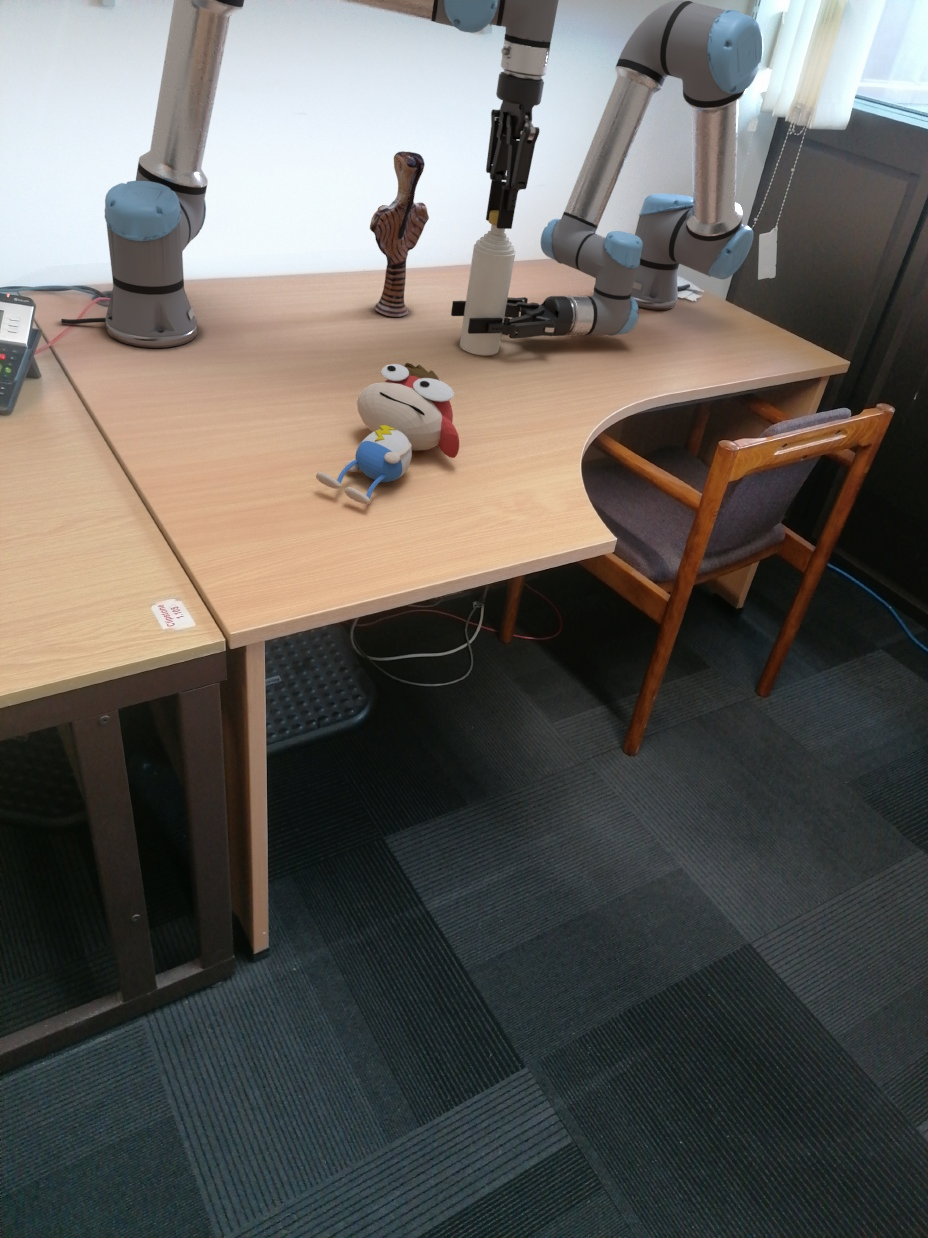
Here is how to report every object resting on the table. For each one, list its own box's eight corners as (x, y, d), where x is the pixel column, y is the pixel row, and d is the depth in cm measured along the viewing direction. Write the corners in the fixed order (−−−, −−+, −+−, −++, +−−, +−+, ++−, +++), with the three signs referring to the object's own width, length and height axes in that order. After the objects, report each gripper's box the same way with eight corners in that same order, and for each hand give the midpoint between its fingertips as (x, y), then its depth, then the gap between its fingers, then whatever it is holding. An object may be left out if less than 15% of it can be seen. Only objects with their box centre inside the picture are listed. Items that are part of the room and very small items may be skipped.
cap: (508, 227, 158) (510, 217, 157) (487, 224, 158) (489, 213, 157) (509, 222, 161) (511, 212, 160) (489, 218, 161) (490, 208, 160)
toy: (278, 428, 121) (396, 343, 140) (277, 485, 128) (389, 398, 148) (391, 486, 117) (497, 391, 136) (384, 542, 124) (485, 444, 143)
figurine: (401, 297, 189) (416, 141, 170) (429, 309, 186) (448, 152, 167) (355, 312, 178) (365, 148, 160) (384, 324, 175) (398, 159, 157)
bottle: (503, 355, 172) (526, 225, 157) (466, 355, 170) (486, 223, 155) (491, 339, 178) (512, 212, 163) (454, 338, 175) (472, 209, 160)
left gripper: (479, 61, 149) (460, 209, 164) (526, 82, 138) (500, 238, 152) (518, 65, 152) (496, 210, 167) (567, 86, 141) (538, 239, 156)
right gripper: (585, 355, 172) (479, 358, 164) (539, 314, 186) (438, 315, 178) (594, 317, 168) (485, 318, 159) (546, 278, 182) (443, 277, 173)
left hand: (498, 223), depth 160 cm, fingers closed on cap, 4 cm apart
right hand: (461, 316), depth 168 cm, fingers closed on bottle, 8 cm apart
